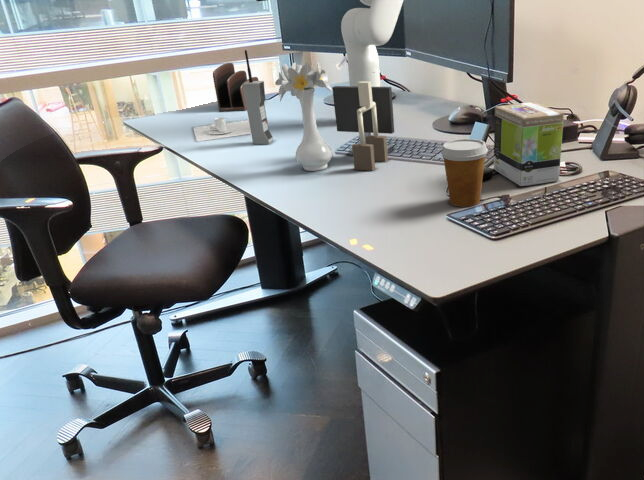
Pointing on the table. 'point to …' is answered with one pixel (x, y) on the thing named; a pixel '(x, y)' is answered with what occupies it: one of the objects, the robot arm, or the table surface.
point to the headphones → (374, 144)
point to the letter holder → (230, 88)
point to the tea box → (528, 143)
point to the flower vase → (307, 112)
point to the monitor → (349, 104)
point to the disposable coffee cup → (464, 170)
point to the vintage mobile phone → (256, 109)
